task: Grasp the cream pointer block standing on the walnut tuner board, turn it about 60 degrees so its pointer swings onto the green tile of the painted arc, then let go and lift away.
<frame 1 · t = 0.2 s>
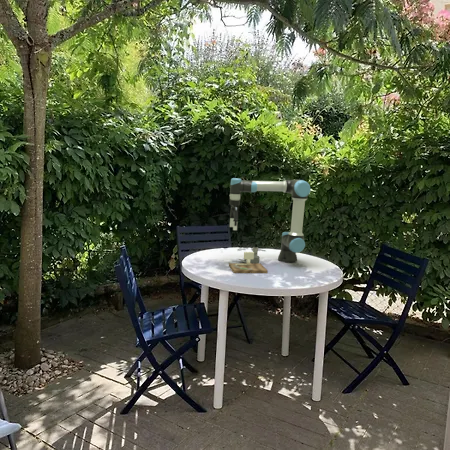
hand: (233, 228, 306), 27 cm above the table, fingers open, 13 cm apart
camera: (249, 263, 319), on the table
tuner board: (247, 269, 300), on the table
cream pointer block: (244, 258, 301), point 7 cm above the table, hinge at 0.0°
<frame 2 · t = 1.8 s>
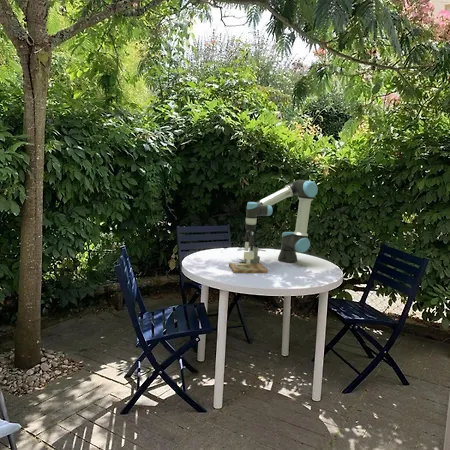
hand: (248, 252, 301), 12 cm above the table, fingers open, 13 cm apart
nothing on the table moved.
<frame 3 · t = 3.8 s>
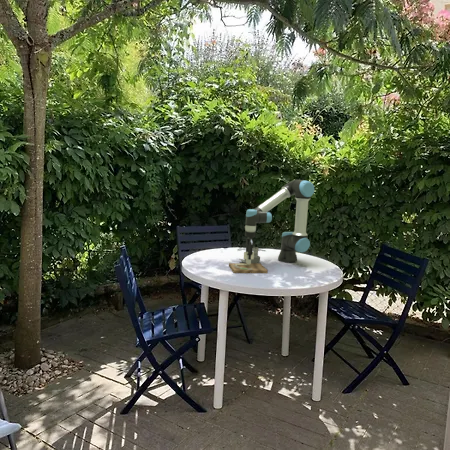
hand: (248, 262, 302), 4 cm above the table, fingers closed on cream pointer block, 3 cm apart
cream pointer block: (244, 258, 301), point 7 cm above the table, hinge at 0.0°, touching gripper
everything else where it was.
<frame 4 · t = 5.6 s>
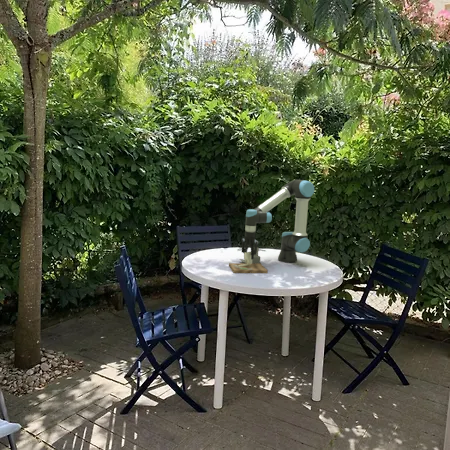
hand: (248, 262, 302), 4 cm above the table, fingers closed on cream pointer block, 3 cm apart
cream pointer block: (245, 259, 300), point 7 cm above the table, hinge at 28.0°, touching gripper
everything else where it was.
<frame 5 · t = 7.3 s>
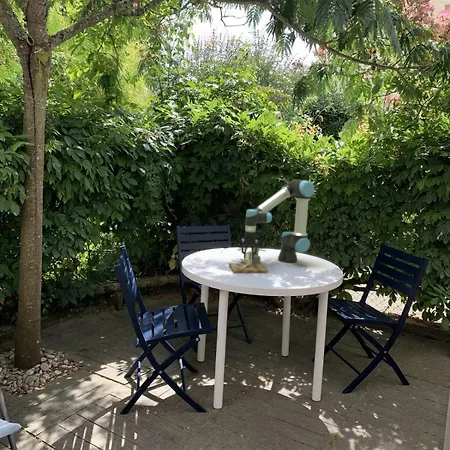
hand: (248, 263, 302), 4 cm above the table, fingers closed on cream pointer block, 3 cm apart
cream pointer block: (247, 259, 299), point 7 cm above the table, hinge at 54.0°, touching gripper
everything else where it was.
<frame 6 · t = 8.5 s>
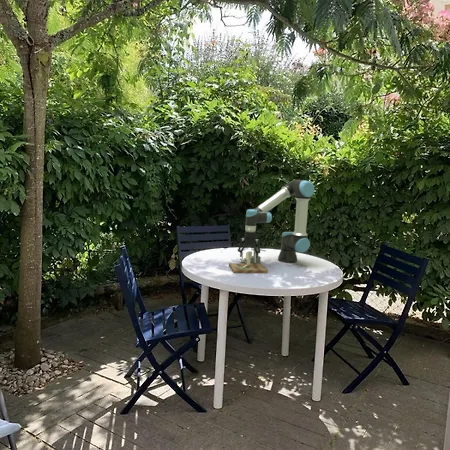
hand: (248, 261, 302), 5 cm above the table, fingers open, 9 cm apart
cream pointer block: (247, 259, 299), point 7 cm above the table, hinge at 55.8°
everything else where it was.
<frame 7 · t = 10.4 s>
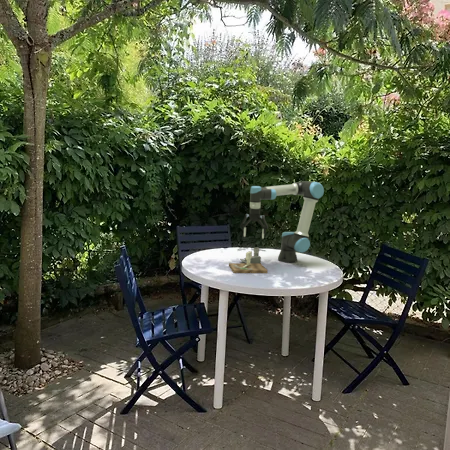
hand: (253, 237, 301), 23 cm above the table, fingers open, 13 cm apart
cream pointer block: (247, 259, 299), point 7 cm above the table, hinge at 56.3°
everything else where it was.
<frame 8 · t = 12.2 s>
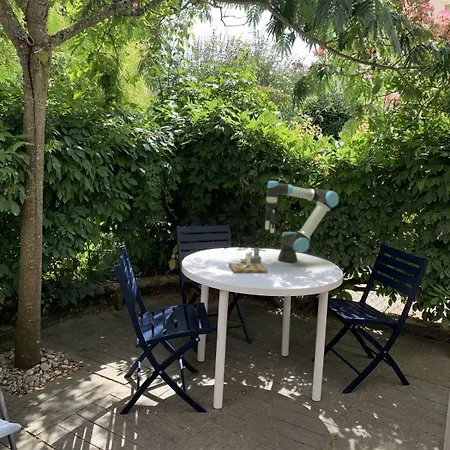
hand: (269, 231, 307), 27 cm above the table, fingers open, 13 cm apart
nothing on the table moved.
at the end: cream pointer block at +56° (first picture: +0°); the gripper is holding nothing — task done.
